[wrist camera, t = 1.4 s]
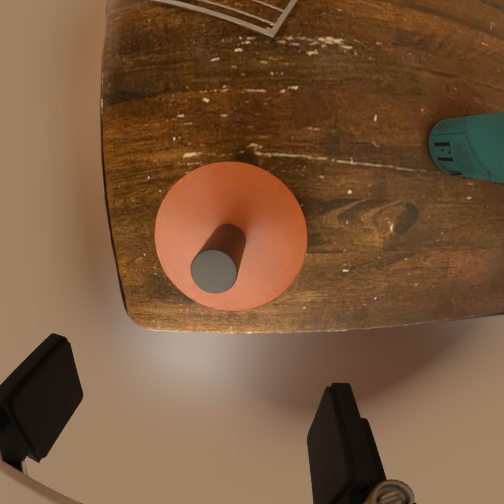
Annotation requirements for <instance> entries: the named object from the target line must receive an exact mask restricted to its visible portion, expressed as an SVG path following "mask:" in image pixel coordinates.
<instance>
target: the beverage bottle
mask: <svg viewBox="0 0 504 504" xmlns="http://www.w3.org/2000/svg"><path fill="white" fill-rule="evenodd" d="M481 114H482V113H481ZM429 151H430V155H431V157H432V159H433V161H434V163H435V164H436V166H437V167H438V168H439V169H440V170H442V172H443V173H444V172H445V173H447V174H449V175H452V176H451V177H453V176H461V177H463V178H464V177H468V179H469V178H474V179H480V180H481V181H482V180H485V181H492V182H496V183H503V184H502V185H504V112H499V113H491V114H483V115H473V116H465V115H464V117H458V118H451V119H445V120H442V121H439V123H438V122H437V123H436V125H435V126H434V128H433V129H432V131H431V133H430V137H429ZM447 174H446V175H447ZM449 175H448V176H449ZM458 178H459V177H458ZM464 179H466V178H464ZM470 180H472V179H470ZM485 181H482V182H485ZM496 183H494V184H496Z"/></svg>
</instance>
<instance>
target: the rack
mask: <svg viewBox="0 0 504 504" xmlns="http://www.w3.org/2000/svg"><path fill="white" fill-rule="evenodd" d="M148 1H150V2H153V3H154V4H155V5H156V6H160V7H163V5H164V4H165V5H169V6H173V7H178V8H182V9H185V10H189V11H193V12H196V13H200V14H203V15H207V16H210V17H213V18H216V19H220V20H223V21H226V22H228V23H231V24H234V25H237V26H240V27H243V28H245V29H248V30H251V31H253V32H256V33H258V34H261V35H263V39H265V40H267V41H269V42H273V40H274V39H275V37H276V34H277V33H278V31H279V29H280V28H281V26H282V25H283V23H284V22H285V20H286V19H287V17H288V16H289V14H290V13H291V11H292V10H293V8H294V7H295V5H296V4H297V2H298V1H299V0H291V1H290V2H289V4H288V5H287V7H286V8H285V10H282V9H280V8H277V7H275V6H272V5H270V4H267V3H264V2H262V1H259V0H249V1H252V2H255V3H258V4H260V5H263V6H266V7H268V8H271V9H274V10H276V11H279V12H281V13H282V14H281V16H280V17H279V19H278V20H277V22H276V23H272V22H270V21H268V20H265V19H262V18H260V17H257V16H254V15H252V14H249V13H246V12H243V11H240V10H237V9H234V8H231V7H228V6H225V5H222V4H218V3H215V2H211V1H208V0H196V1H200V2H203V3H207V4H211V5H214V6H217V7H221V8H224V9H227V10H230V11H233V12H236V13H239V14H242V15H245V16H248V17H250V18H253V19H256V20H258V21H261V22H264V23H266V24H269V25H271V26H273V28H270V27H267V28H266V29H264V28H261V27H259V26H256V25H254V24H251V23H248V22H246V21H243V20H240V19H237V18H234V17H231V16H228V15H225V14H222V13H219V12H216V11H213V10H209V9H206V8H202V7H199V6H195V5H191V4H187V3H183V2H179V1H175V0H148Z"/></svg>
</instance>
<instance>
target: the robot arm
mask: <svg viewBox="0 0 504 504" xmlns="http://www.w3.org/2000/svg"><path fill="white" fill-rule="evenodd" d="M82 398H83V391H82V388H81V384H80V381H79V377H78V374H77V369H76V365H75V361H74V357H73V353H72V349H71V345H70V343H69V342H68V340H67V338H66V337H63V336H60V335H57V334H54V333H53V334H51V335H50V336H49V337H48V338H47V339H45V341H43V342H42V343H41V344H40V345H39V346H38V347H37V348H36V349H35V350H34V351H33V352H32V353H31V354H30V355H29V356H28V357H27V358H26V359H25V360H24V361H23V362H22V363H21V364H20V365H19V366H18V367H17V368H16V369H15V370H14V371H13V372H12V373H11V374H10V375H9V377H8V378H7V379H6V380H5V381H4V382H3V383H2V384H1V385H0V504H82V503H80V502H77V501H75V500H73V499H71V498H69V497H66V496H64V495H62V494H60V493H58V492H56V491H54V490H52V489H50V488H48V487H47V486H45V485H43V484H41V483H39V482H37V481H35V480H34V479H32V478H30V477H29V476H28V473H27V468H26V464H25V458H26V456H28V457H29V458H31V459H33V460H34V461H36V462H38V463H39V462H40V460H41V459H42V458H45V457H46V456H47V454H48V452H49V451H50V449H51V448H52V446H53V444H54V443H55V441H56V440H57V438H58V436H59V435H60V433H61V432H62V430H63V428H64V427H65V425H66V424H67V422H68V421H69V419H70V418H71V416H72V415H73V413H74V411H75V410H76V408H77V407H78V405H79V404H80V402H81V401H82ZM307 446H308V455H309V464H310V473H311V482H312V492H313V501H314V502H313V503H314V504H416V503H414V494H413V492H412V489H411V488H410V487H409V486H408V485H407V484H405V483H404V482H401V481H398V480H387V479H386V476H385V473H384V469H383V466H382V463H381V459H380V456H379V453H378V450H377V447H376V443H375V440H374V437H373V434H372V431H371V428H370V425H369V422H368V420H367V419H366V418H361V417H360V414H359V411H358V408H357V404H356V401H355V398H354V395H353V392H352V389H351V386H350V384H349V383H332V385H331V387H326V389H325V391H324V394H323V397H322V400H321V402H320V405H319V407H318V410H317V413H316V415H315V418H314V420H313V423H312V425H311V428H310V430H309V433H308V436H307Z"/></svg>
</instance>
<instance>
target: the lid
mask: <svg viewBox="0 0 504 504" xmlns="http://www.w3.org/2000/svg"><path fill="white" fill-rule="evenodd" d="M307 242H308V238H307V226H306V221H305V218H304V214H303V211H302V209H301V207H300V205H299V203H298V201H297V199H296V198H295V196H294V195H293V193H292V192H291V191H290V190H289V188H288V187H287V186H286V185H285V184H284V183H283V182H282V181H281V180H279V179H278V178H277V177H276V176H274V175H273V174H271V173H270V172H268V171H266V170H264V169H262V168H260V167H257V166H254V165H251V164H247V163H242V162H231V161H226V162H216V163H212V164H207V165H204V166H202V167H199V168H197V169H195V170H193V171H191V172H189V173H188V174H186V175H185V176H184V177H182V178H181V179H180V180H179V181H178V182H177V183H176V184H175V185H174V186H173V187H172V188H171V189H170V190H169V192H168V193H167V194H166V196H165V198H164V200H163V201H162V203H161V206H160V208H159V211H158V214H157V218H156V223H155V245H156V251H157V254H158V258H159V260H160V263H161V265H162V267H163V269H164V271H165V273H166V274H167V276H168V277H169V279H170V280H171V281H172V283H173V284H174V285H175V286H176V287H177V288H178V289H179V290H180V291H181V292H183V293H184V294H185V295H186V296H188V297H189V298H191V299H192V300H194V301H196V302H198V303H200V304H202V305H204V306H207V307H210V308H214V309H218V310H226V311H241V310H248V309H252V308H256V307H259V306H262V305H264V304H266V303H268V302H270V301H272V300H273V299H275V298H277V297H278V296H279V295H280V294H282V293H283V292H284V291H285V290H286V289H287V288H288V287H289V286H290V285H291V284H292V282H293V281H294V280H295V278H296V277H297V275H298V273H299V271H300V270H301V267H302V265H303V262H304V259H305V255H306V251H307Z"/></svg>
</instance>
